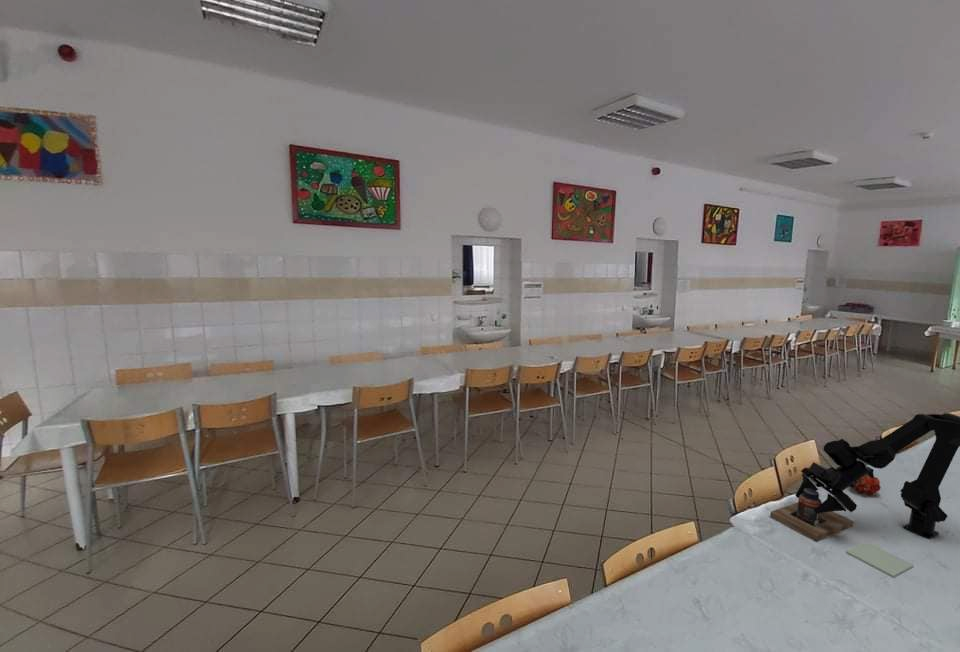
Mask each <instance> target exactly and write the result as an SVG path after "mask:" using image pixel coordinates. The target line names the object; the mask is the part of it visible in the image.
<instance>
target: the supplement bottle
mask: <svg viewBox="0 0 960 652" xmlns="http://www.w3.org/2000/svg"><path fill="white" fill-rule="evenodd" d="M819 497H820V492H818V490H816V491H815V490H813V489H804V492H803V494H801V495H800V496H799V498H798V501H797V502H798V509H797V516H796V518H798V519H800V520H802V521H804V522H806V523H808V524H810V525H812V526H816V525H819V524H820V523H819V520H820V513H815V512H814V510H815V509H816V508H817V507H818V506H819V505H820V504H821V503H823V502H822V500H821V499H820V498H819Z"/></svg>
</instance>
